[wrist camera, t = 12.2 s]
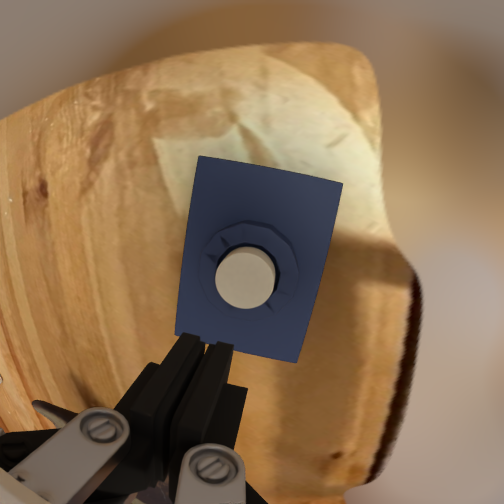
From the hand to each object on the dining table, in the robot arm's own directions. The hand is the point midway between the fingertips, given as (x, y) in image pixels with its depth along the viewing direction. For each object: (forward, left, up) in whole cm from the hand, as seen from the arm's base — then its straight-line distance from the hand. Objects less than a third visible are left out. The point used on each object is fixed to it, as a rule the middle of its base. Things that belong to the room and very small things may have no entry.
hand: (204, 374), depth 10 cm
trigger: (0, 0, -11) cm, 11 cm away
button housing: (0, 0, -15) cm, 15 cm away
